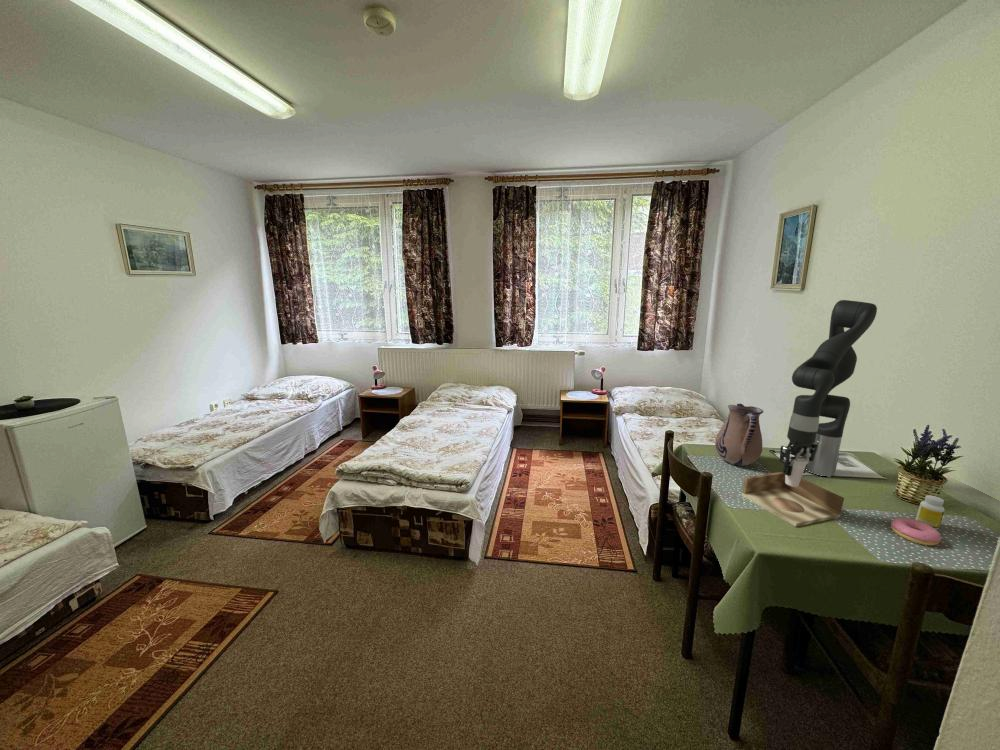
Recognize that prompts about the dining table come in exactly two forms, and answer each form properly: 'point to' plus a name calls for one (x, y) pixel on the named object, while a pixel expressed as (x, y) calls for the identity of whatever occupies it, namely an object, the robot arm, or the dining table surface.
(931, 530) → the doughnut
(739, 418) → the ceramic pitcher
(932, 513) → the supplement bottle
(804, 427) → the robot arm
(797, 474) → the smoothie
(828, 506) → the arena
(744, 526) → the dining table surface
